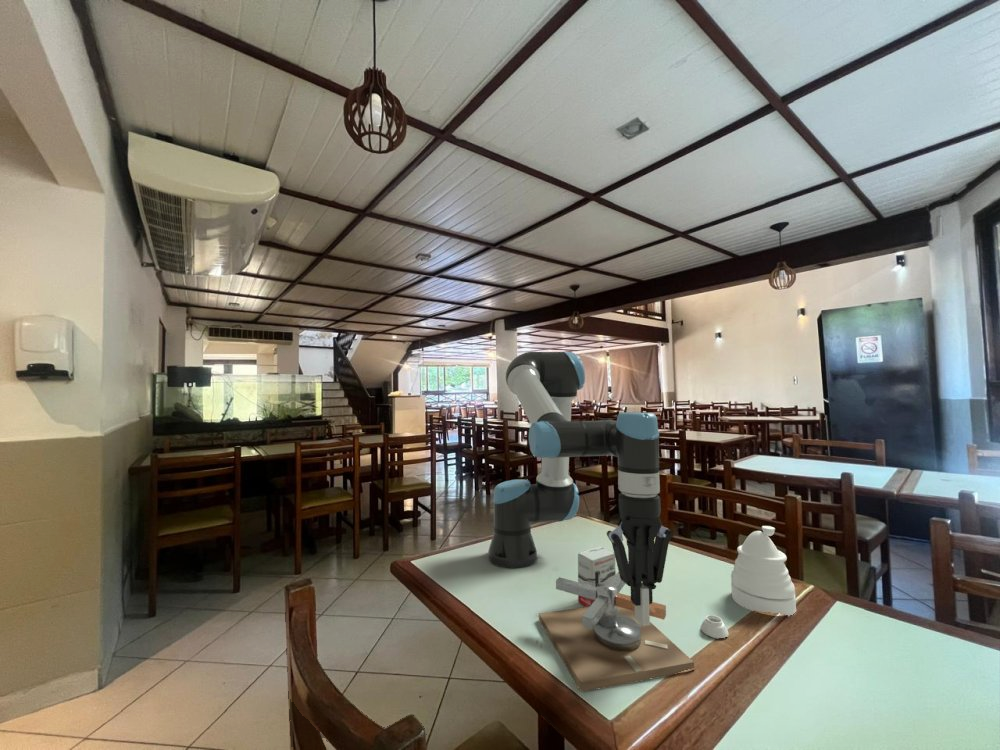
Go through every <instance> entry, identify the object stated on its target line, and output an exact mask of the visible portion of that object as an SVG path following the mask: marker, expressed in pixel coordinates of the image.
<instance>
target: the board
mask: <svg viewBox="0 0 1000 750" xmlns="http://www.w3.org/2000/svg"><path fill="white" fill-rule="evenodd" d="M588 608H589V607H585V606H583V607H578V608H569V609H563V610H562V609H561V610H556V611H554V610H553V611H547V612H540V613H538V620H539V621H538V622H539V623H540V625H541V626H542V628H543V629H544V631H545V633H546V635H547V637H548V638H549V639H550V641H551V644H552V645H553V647H554V649H555V650H556V652H557V653H558V655H559V657H560V659H561V661H562V662H563V664H564V665H565V667H566V668H567V671H568V672H569V675H571V678H572V679H573V681H574V683H575V685H576V686H577V688H578V687H579V688H578V689H580V690H579V691H580V693H583V692H582V691H584V692H588V691H587V690H590V691H594V690H593V689H595V690H599V689H598V688H600V689H604V688H603V687H606V688H611V687H615V686H621V685H627V684H630V683H636V681H637V682H641V680H643V681H646V680H647V679H648V680H651V679H650V678H653V679H656V678H657V677H659V678H662V676H663V677H667V675H669V676H672V675H671V674H675V673H678V672H681V671H684V670H688V669H692V668H694V669H695V662H694V660H692V659H691V658H690V657H689V656H688V655H687V653H685V652H684V651H683V650H681V648H680V647H679V646H677V645H676V644H675V643H674V642H673V641H672V640H671V639H670V638H669V637H667V636H666V635H665V634H664V633H663V632H662V631H661V630H659V628H658V627H656V626H655V624H653V623H652V622H651V621H650V625H648V626H642V625H641V624H640V623H639V622H638V621H637V620H636V619H635V611H632V610H628V609H625V608H621V607H618V614H621V615H624V616H627V617H630V618H632V619H633V620H635V621H636V622H637V623H638V624H639V626H640V628H641V643H640V645H639V646H638V647H637V648H635V649H632V650H615V649H611V648H609V647H606V646H604V645H602V644H601V643H600V642H599V641H597V639H596V638H595V636H594V628H593V629H590V628H587V627H584V626H583V618H582V616H583V615H584V613H585V612H586V611H587V610H588ZM675 675H676V674H675ZM657 679H658V678H657ZM610 686H611V687H610Z"/></svg>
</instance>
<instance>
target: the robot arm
mask: <svg viewBox="0 0 1000 750" xmlns="http://www.w3.org/2000/svg"><path fill="white" fill-rule="evenodd" d="M585 371H586V370H585V366H584V363H583V361H582V359H581V357H580V356H579V355H578V354H577V353H574V352H567V351H528V352H523V353H520V354H519V355H518V356H516V357H514V359H512V361H511V362H510V363H509V364H508V366H507V369H506V372H505V382H506V385H507V387H508V389H509V391H510V392H511V393H512V394H514V395H516V398H517V399H518V401H519V403H520V405H521V407H522V409H523V411H524V414H525V415H526V418H527V420H528V421H529V424H530V427H529V429H528V445H529V449H530V452H531V454H532V455H533V457H535V458H541V472H540V473H539V474H538V475H537V476H536V480H535V481H536V483H533V484H531V481H530V480H528V479H523V478H522V479H518V478H517V479H511V480H505V481H503V482H500V483H498V484H497V485H496V486H495V487H494V489H493V496H492V497H493V498H492V503H493V534H492V538H491V542H490V544H489V548H488V555H487V556H488V561H489V562H490V563H492V564H493V565H495V566H499V567H503V568H510V569H511V568H512V569H513V568H517V569H518V568H523V567H528V566H531V565H533V564H534V563H536V562H537V559H538V554H537V553H538V550H537V547H536V545H535V542H534V538H533V535H532V529H531V528H532V526H531V524H534V523H549V522H564V521H569V520H572V519H574V517H575V516H576V515H577V513H578V509H579V507H580V506H579V505H580V496H579V488H578V486H577V484H575V483H574V480H573V478H572V477H571V476H570V474H569V470H570V469H569V468H570V467H569V466H570V465H569V464H570V463H569V462H570V458H574V457H575V458H577V457H601V456H602V457H604V456H613V457H616V458H617V475H618V476H617V478H618V479H617V480H618V481H617V485H618V487H617V489H618V490H619V491H620V492H619V494H618V512H619V519H618V521H617V527H616V528H614V530H608V531H607V532H606V536H607V538H608V539H609V541H610V542H611V545H612V549H613V552H614V554H615V563H616V564H617V569H618V572H619V574H620V578H621V580H622V581H623V582H624V583H625V585H626V586H628V587H630V596H631V601H632V603H633V604H634V605H635V619H636V620H637V621H638V622H639V623H640V624H641V625H642V626H648V625H650V622H651V618H650V617H651V616H650V614H649V604H652V602H654V601H653V600H654V599H653V590H655V589H656V588H657V585H656V584H659V583H662V581H663V576H664V572H665V565H666V561H667V556H668V550H669V549H668V548H669V544H670V541H671V540H672V538H673V535H674V531H672V530H671V529H670V528H667V527H665V526H664V525H662V521H661V518H660V516H661V514H662V513H661V512H662V511H661V508H662V507H661V497H660V496H659V495H658V494H660V493H661V485H660V482H661V481H660V432H659V427H658V426H659V425H658V417H657V416H656V414H654V413H652V412H635V411H633V412H620V413H618V415H617V417H616V420H613V419H609V418H608V419H600V420H574V421H573V420H572V404H573V401H574V399H576V398H577V397H578V391H579V390H582V389H583V388H584V387H585V383H586V382H585V381H586V372H585ZM623 537H624V538H625V539H626V546H627V552H628V553H627V552H626V548H625V544H624V543H623V541H624V538H623ZM627 554H628V555H627Z"/></svg>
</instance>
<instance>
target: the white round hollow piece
mask: <svg viewBox="0 0 1000 750" xmlns="http://www.w3.org/2000/svg"><path fill="white" fill-rule="evenodd" d="M700 631H702V632H703V633H704V634H705V635H706V636H708V637H711V638H714V639H719V638H724V639H726V638H725V637H727V638H728V637H729V633H730V632H729V631H728V628H727V627H726V625H725V623H724V622H723V619H722V618H721V617H720V616H717V615H715V614H708V615H706V616H705V618H704V620H703V622H702V623H701V625H700ZM719 640H720V639H719Z"/></svg>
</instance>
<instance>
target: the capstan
mask: <svg viewBox="0 0 1000 750" xmlns="http://www.w3.org/2000/svg"><path fill="white" fill-rule="evenodd" d="M625 585H626V583H624V582H623V581H622V580H621V578H620V574H619V571H617V573H616V575H615V577H614V578H613V579H612V580H611V581H610V582H600V583H598V584H597V587H594V586H591V585H587V584H583V583H579V582H578V581H575V580H572V579H571V580H570V579H567V578H564V577H560V576H559V577H558V578H557V579H556V580H555V589H556V590H559V591H561V592H562V591H563V592H564V593H565V592H566V593H569V594H571V595H576V596H578V595H579V596H582V597H586V598H589V599H593V600H595V601H594V602H593V603H592V605H591V606H590V607H589V608H588V610H587V611H586V612H585V613H584V615H583V616H582V618H583V626H584V627H587V628H590V629H593V628H594V636H595V638H596V639H597V641H599V642H600V643H601V644H602V645H604V646H606V647H609V648H611V649H615V650H632V649H635V648H637V647H638V646H639V645H640V643H641V628H640V626H639V624H638V623H637V622H636V621H635V620H633V619H632V618H630V617H627V616H624V615H621V614H618V607H621V608H625V609H628V610H632V611H635V605H634V604H633V603H632V601H631V595H628V594H624V593H620V591H621V590H622V589H623V588H624V586H625ZM649 614H650V617H653V618H657V619H659V620H660V619H661V620H665V619H666V617H667V606H666V604H662V603H658V602H654V601H652V604H649Z"/></svg>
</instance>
